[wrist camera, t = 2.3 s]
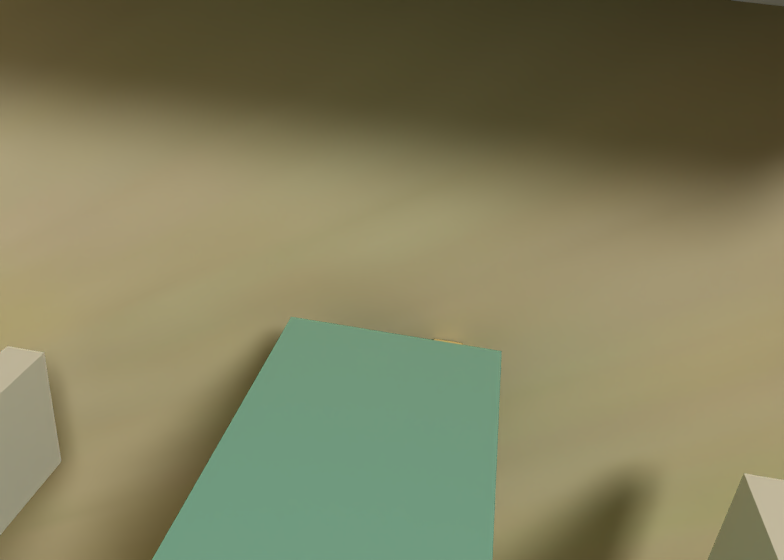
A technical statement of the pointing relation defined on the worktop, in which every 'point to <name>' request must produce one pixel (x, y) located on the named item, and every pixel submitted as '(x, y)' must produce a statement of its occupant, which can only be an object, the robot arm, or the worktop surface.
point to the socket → (765, 2)
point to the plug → (352, 454)
